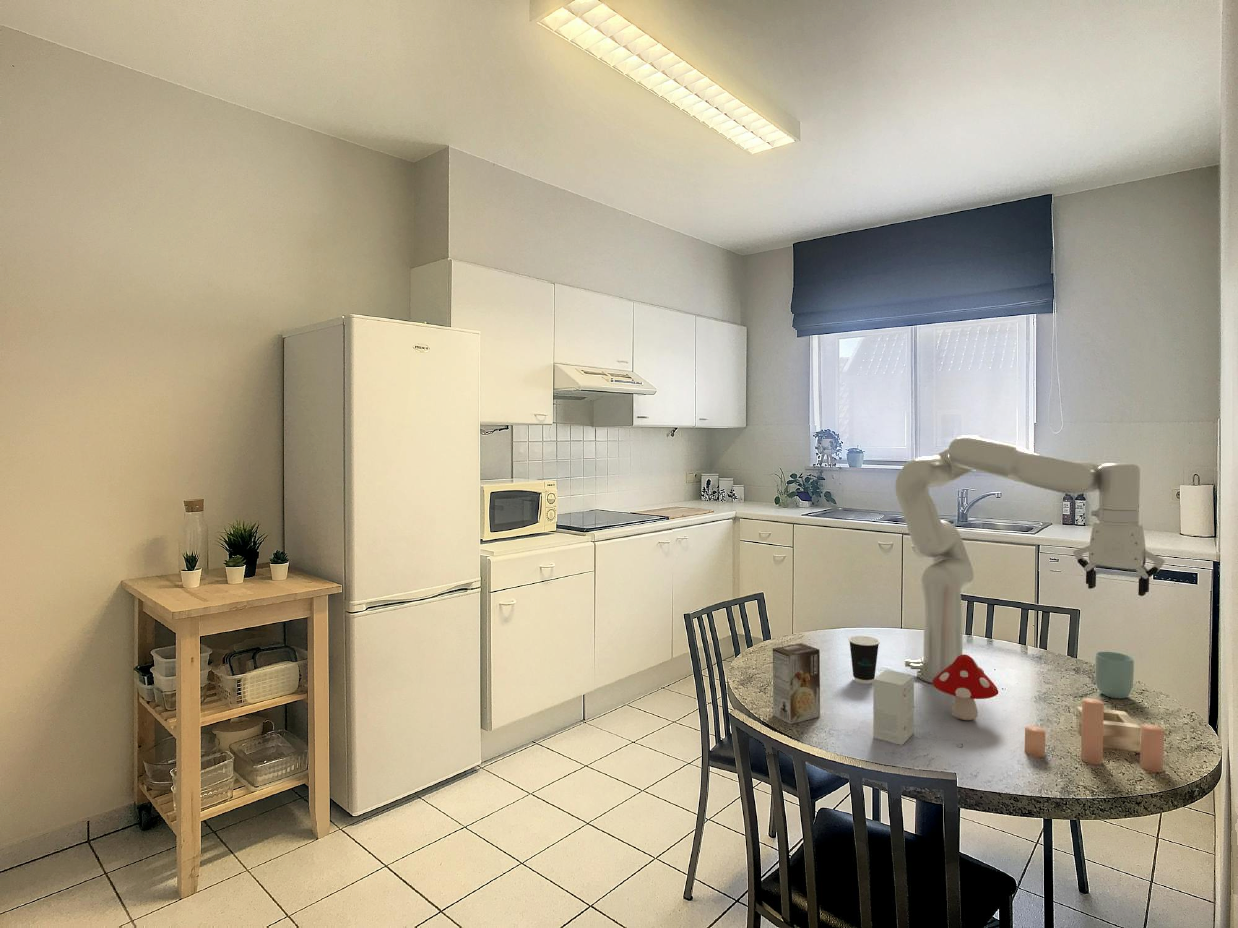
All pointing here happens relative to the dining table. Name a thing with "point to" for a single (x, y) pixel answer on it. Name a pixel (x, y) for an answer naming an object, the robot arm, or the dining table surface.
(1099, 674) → the cup
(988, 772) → the dining table surface
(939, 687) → the decorative mushroom
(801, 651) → the coffee box
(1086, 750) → the long pin
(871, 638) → the dixie cup
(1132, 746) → the bore block
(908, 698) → the small box
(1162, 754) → the medium pin
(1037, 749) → the short pin
